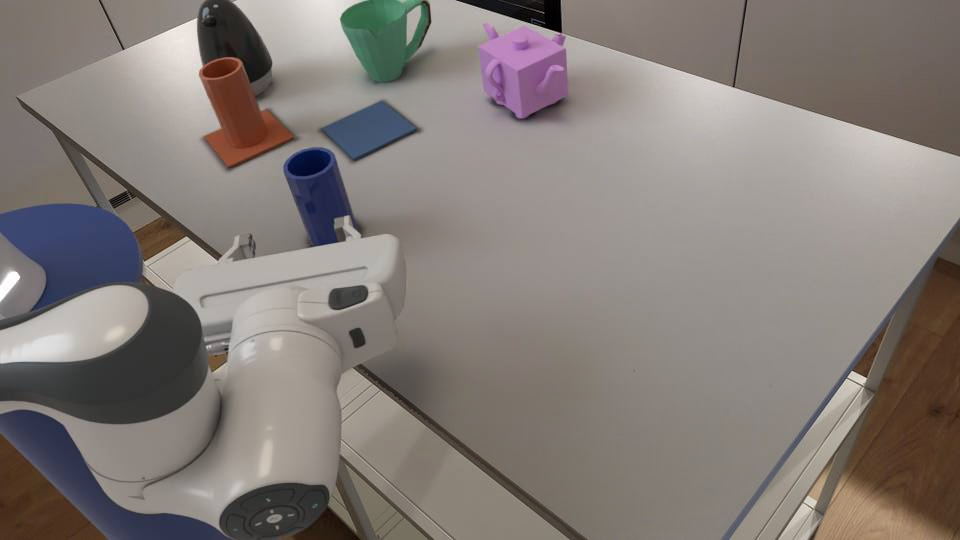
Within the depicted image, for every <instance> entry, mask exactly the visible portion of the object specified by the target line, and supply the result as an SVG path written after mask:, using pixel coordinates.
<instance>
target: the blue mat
mask: <svg viewBox="0 0 960 540" xmlns="http://www.w3.org/2000/svg"><path fill="white" fill-rule="evenodd" d="M321 131H323V133H324V134H325V135H326V136H328V137H329V138H330V140H331V141H333V143H335V144H336V145H337V146H338V147H339V148H340V149H341V150H342V151H343V152H344V153H345V154H346V155H347V156H348V157H350V159H352V160H353V162H355V161H357V160H359V159H362V158H363V157H365V156H367V155H370V154H371V153H374V152H376V151H379V150H380V149H382V148H384V147H386V146H388V145H390V144H391V143H394V142H396V141H399V140H400V139H402V138H404V137H406V136H409V135H410V134H412V133H415V132H417V131H418V130H417V127H415V126H414V124H412V123H411V122H409V121H408V120H407V119H405V117H403V116H402V115H400V114H399V113H398V112H396V110H394V109H393V108H392V107H390V105H388V104H387V103H386V102H384V101H383V100H380V101H378V102H375V103H374V104H371V105H369V106H367V107H365V108H362V109H360V110H358V111H356V112H353V113H351V114H349V115H347V116H345V117H343V118H341V119H338V120H336V121H334V122H332V123H329V124H328V125H327V124H326V125H325V126H323V127H321Z"/></svg>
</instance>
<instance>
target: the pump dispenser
mask: <svg viewBox="0 0 960 540" xmlns="http://www.w3.org/2000/svg"><path fill="white" fill-rule="evenodd" d="M196 33H197V35H196V36H197V44H198V52H199V57H200V63H201V66H202V67H203V66H204V65H206V64H207V63H209V62H211V61H214V60H216V59H220V58H224V57H234V58H238V59H240V60H241V61H242V63H243V66H244V69H245V71H246V74H247V76H248V79H249V82H250V84H251V87H252V90H253V92H254V95H255V97H256V96H258V95H260V94H261V93H262V92H264V91H266V89H267V87H268V86H269V85H270V82H271V80H272V75H273V60H272V56H271V54H270V51H269V49H268V48H267V46H266V43H265V42H264V40H263V39H262V37H261V35H260V34H259V32H258V30H257V28H255V26H254V25H253V23H252V22H251V20H250V19H249V17H248V16H247V15H246V13H244V11H243V10H242V9H241V8H240V7H238V5H236V3H234V2H233V1H232V0H204V1H203V2H202V3H201V4H200V6H199V8H198V12H197V18H196Z"/></svg>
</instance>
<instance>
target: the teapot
mask: <svg viewBox="0 0 960 540" xmlns="http://www.w3.org/2000/svg"><path fill="white" fill-rule="evenodd" d="M482 27H483V28H484V30H485V31H486V34H487V36H488V41H486V42H483V44H480V45H478V47H477V49H478V57H479V62H480V63H479V64H480V70H481V77H482V79H481V80H482V85H483V92H484V93H485V94H487V95H489V96H490V97H491V98H493V100H494V101H495V103H496V104H498V105H501V106H504V107H506V108H507V109H508V110H510V111H511V112H513V113H514V114H515V117H516V118H517V119H526V118H528V117H529V116H530V115H532V114H533V113H536V112H538V111H539V110H542V109H544V108H546V107H548V106H551V105H556V103H557V102H558V101H560V100H562V99H564V98H565V97H568V96H569V81H568V79H569V78H568V61H567V59H568V58H567V49H566V47H564V44H565V41H566V38H567V36H566V35H565V34H563V33H556V34H554V36H553V38H552V39H550V38H548V37H547V36H545V35H543V34H541V33H539V32H538V31H536V30H534V29H533V28H530V27H529V26H527V25H523V26H520V27H518V28H516V29H514V30H511V31H509V32H507V33H505V34H502V35H499V33H498V32H497V30H496V28H495V27H494V26H493V25H492V24H491V23H487V22H485V23H483V24H482Z"/></svg>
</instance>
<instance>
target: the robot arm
mask: <svg viewBox="0 0 960 540" xmlns="http://www.w3.org/2000/svg"><path fill="white" fill-rule="evenodd" d="M334 222H335V223H334V230H335V233H336V234H337V239H338V241H339V243H333V244H328V245H322V246H316V247H313V246H311V247H306V248H300V249H295V250H290V251H289V250H288V251H283V252H279V253H273V254H266V255H261V256H257V257H255V256H256V249H257V244H256V241H255V239H253V234H252V233H245V234H239V235H234V238H233V245H232V246H231V247H230V248H229V249H228V250H227V251H226V252H225V253H224V254H223V255H221V257H220V258H219V259H218V261H217V264H212V265H211V264H210V265H207V266H201V267H195V268H189V269H186V270H184V271H182V272H181V273H180V274H179V275H178V276H177V277H176V278H175V279H174V281H173V285H172V291H171V290H168V289H164V288H161V287H158V286H155V285H151V284H147V283H142V282H140V283H135V282H113V283H107V284H102V285H98V286H95V287H92V288H89V289H86V290H83V291H81V292H78V293H76V294H73V295H71V296H69V297H66V298H64V299H62V300H59V301H57V302H55V303H53V304H50V305H48V306H45V307H43V308H40V309H37V310H34V311H31V309H32V308H33V307H34V306H35V305H36V303H37V302H38V301H39V299H40V297H41V296H42V294H43V292H44V289H45V286H46V273H45V271H44V269H43V268H42V267H41V266H40V265H39V264H38V263H36V262H34V261H33V260H31V259H30V258H29V257H27V256H26V255H25V254H23V253H22V252H21V251H20V250H18V249H17V248H16V247H15V246H14V245H13V244H12V243H11V242H10V241H9V240H8V239H7V238H6V237H5V236H4V235H3V234H2V233H1V232H0V414H2V413H6V412H9V411H13V410H19V409H26V410H33V411H37V412H40V413H43V414H45V415H48V416H50V417H52V418H54V419H55V420H57V421H59V422H60V423H61V424H63V425H64V427H65V428H66V430H67V431H68V433H69V435H70V436H71V438H72V439H73V441H74V443H75V444H76V446H77V447H78V449H79V451H80V452H81V454H82V456H83V459H84V461H85V463H86V464H87V466H88V468H89V469H90V471H91V472H92V474H93V475H94V477H95V478H96V480H97V481H98V483H99V484H100V486H101V487H102V489H103V490H104V492H105V493H106V494H107V496H108V497H109V498H110V500H111V501H112V502H113V503H115V504H116V505H117V506H119V507H120V508H122V509H124V510H126V511H129V512H132V513H135V514H141V515H162V514H168V513H170V514H177V515H183V516H187V517H191V518H195V519H198V520H201V521H203V522H206V523H208V524H210V525H212V526H214V527H215V528H217V529H218V530H219V531H220V532H222V533H223V534H224V535H225V536H227V537H229V538H231V539H234V540H283V539H286V538H288V537H291V536H294V535H296V534H298V533H300V532H302V531H304V530H305V529H307V528H308V527H310V526H311V525H313V524H314V523H315V522H316V521H317V520H318V519H319V518H320V517H321V515H322V514H323V513H324V512H325V511H326V509H327V508H328V506H329V504H330V501H331V499H332V497H333V494H334V490H335V488H336V484H337V479H338V473H339V467H340V459H341V458H340V457H341V448H342V429H343V428H342V423H343V421H342V419H343V418H342V406H341V401H340V399H339V396H338V392H337V390H338V386H339V384H340V381H341V377H342V375H343V374H344V373H346V372H348V371H350V370H351V369H353V368H355V367H357V366H359V365H360V364H363V363H365V362H367V361H369V360H371V359H373V358H376V357H378V356H381V355H382V354H384V353H387V352H389V351H391V350H392V349H394V348H395V347H396V346H397V343H398V333H397V326H396V320H397V319H398V318H399V317H400V315H401V313H402V312H403V309H404V307H405V306H404V305H405V300H406V293H407V264H406V257H405V254H404V250H403V247H402V244H401V241H400V239H399V238H398V237H396V236H395V235H393V234H391V233H383V234H377V235H372V236H366V237H362V234H361V233H360V232H359V230H358V231H357V230H355V229H354V228H353V224H352V221H351V218H350V216H349V215H348V216H344V217H339V218H334ZM343 241H344V242H343ZM30 311H31V312H30ZM224 354H227V357H226V365H225V366H224V367H223V369H221V370H220V371H216V372H212V369H211V367H210V365H209V363H210V362H209V357H208V356H219V355H224Z"/></svg>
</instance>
